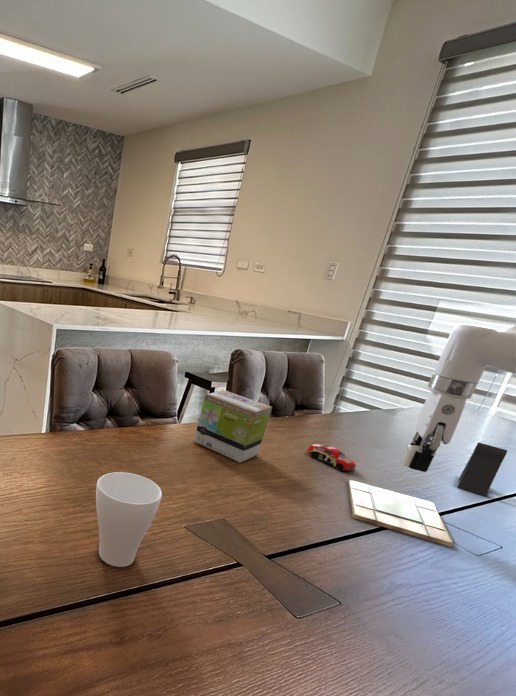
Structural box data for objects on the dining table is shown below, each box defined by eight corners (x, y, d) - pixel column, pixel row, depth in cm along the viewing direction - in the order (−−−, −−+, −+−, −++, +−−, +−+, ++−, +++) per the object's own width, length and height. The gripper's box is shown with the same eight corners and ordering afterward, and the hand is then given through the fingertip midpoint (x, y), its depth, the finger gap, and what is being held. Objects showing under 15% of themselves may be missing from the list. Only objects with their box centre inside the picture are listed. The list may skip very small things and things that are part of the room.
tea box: (192, 442, 133) (204, 393, 127) (210, 436, 139) (223, 388, 134) (240, 463, 123) (256, 411, 117) (258, 455, 130) (273, 405, 124)
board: (431, 506, 113) (433, 501, 112) (451, 547, 96) (454, 542, 96) (348, 483, 120) (349, 479, 119) (353, 518, 103) (355, 513, 102)
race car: (358, 472, 127) (363, 459, 126) (345, 474, 125) (351, 461, 123) (316, 451, 138) (320, 439, 136) (303, 453, 135) (308, 440, 134)
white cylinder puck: (425, 465, 105) (432, 449, 103) (429, 473, 101) (437, 456, 99) (399, 458, 107) (406, 442, 105) (402, 466, 103) (410, 450, 101)
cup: (155, 575, 77) (172, 505, 71) (93, 577, 75) (105, 504, 69) (136, 537, 86) (150, 472, 81) (80, 537, 84) (90, 471, 79)
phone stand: (459, 478, 132) (478, 438, 127) (486, 486, 128) (507, 446, 124) (456, 487, 125) (477, 446, 121) (485, 496, 122) (507, 455, 117)
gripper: (485, 400, 88) (443, 485, 95) (462, 382, 102) (427, 457, 109) (438, 390, 91) (400, 473, 98) (422, 374, 105) (390, 448, 112)
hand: (415, 464), depth 104 cm, fingers closed on white cylinder puck, 5 cm apart
